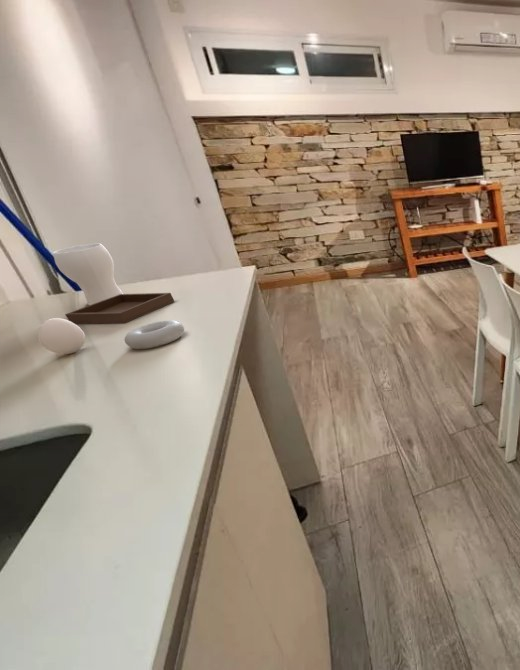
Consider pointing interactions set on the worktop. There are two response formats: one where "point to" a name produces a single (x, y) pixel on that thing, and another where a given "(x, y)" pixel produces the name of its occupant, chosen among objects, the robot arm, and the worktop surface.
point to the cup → (89, 270)
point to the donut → (154, 334)
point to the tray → (120, 308)
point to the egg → (61, 336)
